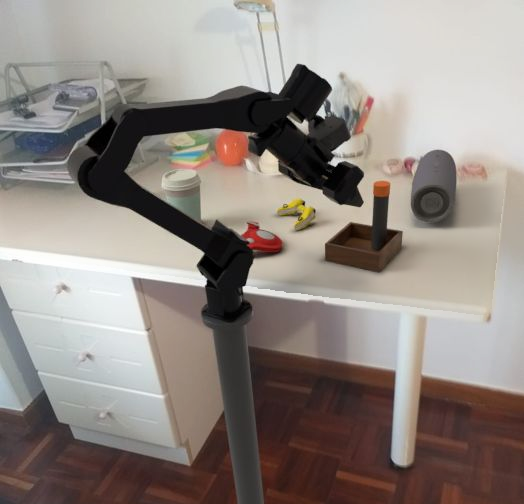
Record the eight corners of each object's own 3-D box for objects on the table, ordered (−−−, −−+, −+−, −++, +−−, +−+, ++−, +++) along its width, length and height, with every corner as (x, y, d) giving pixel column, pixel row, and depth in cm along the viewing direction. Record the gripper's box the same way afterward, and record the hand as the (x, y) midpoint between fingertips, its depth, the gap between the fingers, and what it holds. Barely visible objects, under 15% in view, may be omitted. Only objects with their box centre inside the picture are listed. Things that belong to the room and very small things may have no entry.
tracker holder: (293, 241, 116) (258, 246, 109) (287, 259, 118) (252, 266, 112) (255, 213, 122) (220, 217, 115) (250, 232, 124) (215, 236, 117)
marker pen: (382, 252, 110) (386, 187, 102) (368, 249, 111) (370, 185, 104) (388, 246, 112) (392, 181, 104) (374, 243, 113) (377, 179, 106)
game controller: (323, 220, 123) (317, 207, 121) (298, 236, 123) (292, 223, 121) (303, 205, 131) (298, 193, 129) (280, 220, 131) (274, 208, 128)
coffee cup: (191, 216, 133) (183, 165, 126) (214, 225, 128) (208, 172, 121) (161, 228, 128) (152, 176, 121) (184, 238, 123) (176, 184, 116)
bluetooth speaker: (413, 188, 137) (417, 146, 131) (454, 190, 135) (459, 147, 129) (405, 227, 120) (409, 180, 114) (452, 229, 117) (458, 182, 112)
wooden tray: (378, 272, 105) (379, 254, 103) (324, 260, 110) (324, 243, 108) (401, 247, 112) (402, 231, 110) (350, 238, 118) (350, 221, 115)
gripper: (356, 113, 83) (408, 172, 93) (290, 93, 97) (342, 146, 107) (311, 178, 85) (367, 228, 95) (253, 149, 99) (307, 196, 109)
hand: (346, 197), depth 102 cm, fingers open, 9 cm apart
